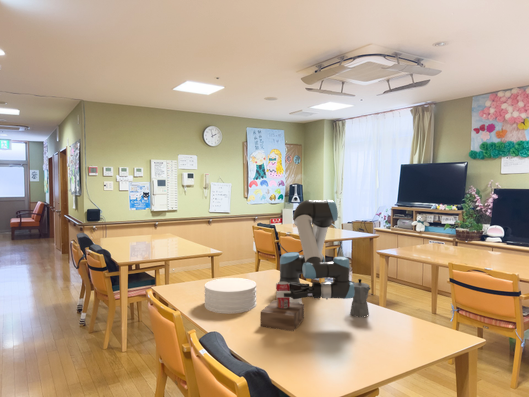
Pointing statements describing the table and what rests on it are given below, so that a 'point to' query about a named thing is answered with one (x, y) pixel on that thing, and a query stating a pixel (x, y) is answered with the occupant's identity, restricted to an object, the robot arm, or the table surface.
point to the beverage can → (283, 302)
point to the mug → (296, 300)
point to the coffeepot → (360, 299)
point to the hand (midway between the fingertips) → (276, 290)
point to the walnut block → (282, 316)
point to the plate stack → (230, 295)
